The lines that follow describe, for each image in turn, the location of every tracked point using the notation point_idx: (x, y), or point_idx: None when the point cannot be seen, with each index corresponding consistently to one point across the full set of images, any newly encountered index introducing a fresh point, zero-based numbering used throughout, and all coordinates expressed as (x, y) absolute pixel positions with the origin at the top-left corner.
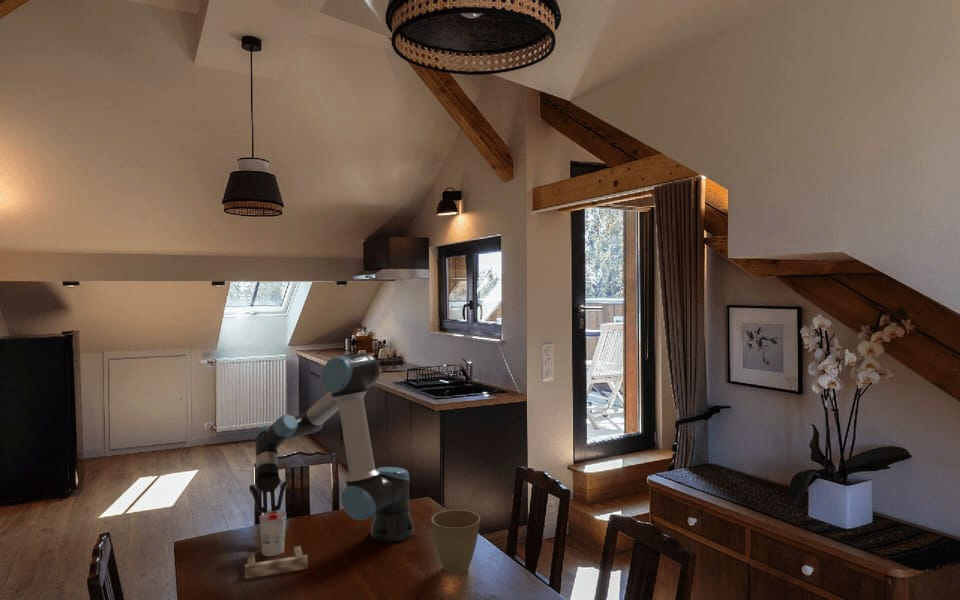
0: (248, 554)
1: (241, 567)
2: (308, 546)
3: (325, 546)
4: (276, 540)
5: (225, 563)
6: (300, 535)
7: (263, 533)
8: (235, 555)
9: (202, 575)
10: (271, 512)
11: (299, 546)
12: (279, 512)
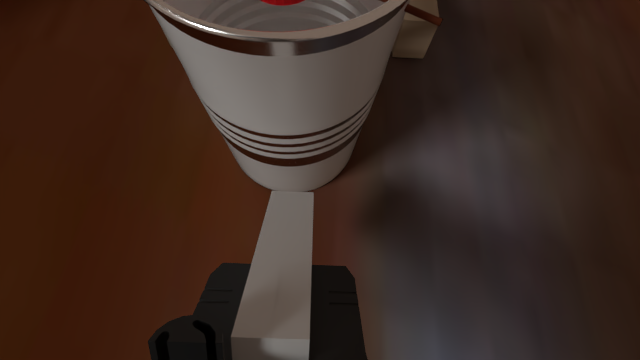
0: (434, 12)
1: (447, 32)
2: (93, 131)
3: (11, 95)
4: (277, 16)
5: (529, 96)
6: (63, 340)
7: (366, 1)
8: (495, 171)
9: (602, 23)
10: (276, 38)
11: None
12: (171, 12)
